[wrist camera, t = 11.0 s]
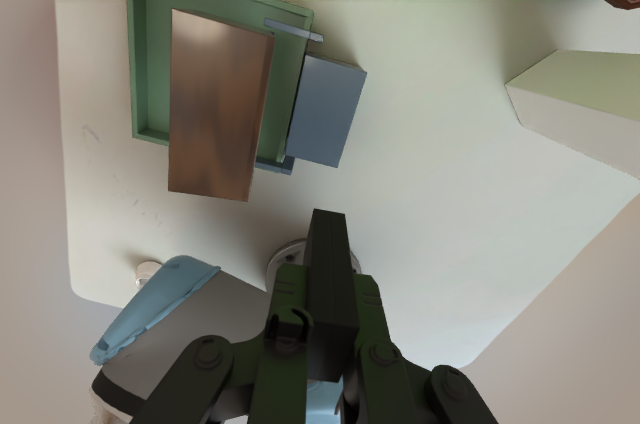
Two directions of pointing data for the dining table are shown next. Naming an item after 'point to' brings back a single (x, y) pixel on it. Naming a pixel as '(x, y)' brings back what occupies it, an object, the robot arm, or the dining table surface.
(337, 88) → the stand
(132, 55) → the tray
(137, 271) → the lidless jar
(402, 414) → the robot arm
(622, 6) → the ice cream bowl
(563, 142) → the milk
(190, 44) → the brown wooden box
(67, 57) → the dining table surface
